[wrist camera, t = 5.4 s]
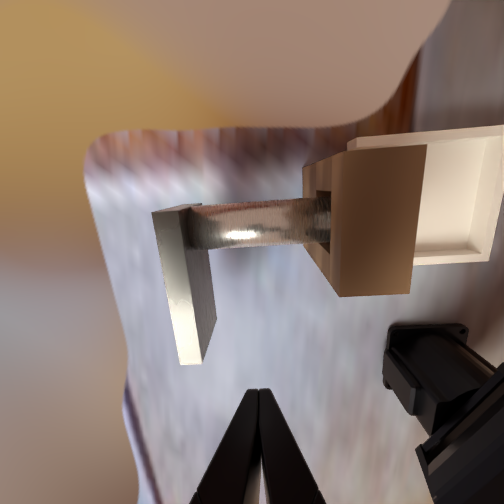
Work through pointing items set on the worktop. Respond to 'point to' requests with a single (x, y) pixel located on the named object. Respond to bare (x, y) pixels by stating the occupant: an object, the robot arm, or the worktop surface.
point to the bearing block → (368, 218)
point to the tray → (454, 190)
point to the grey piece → (220, 237)
